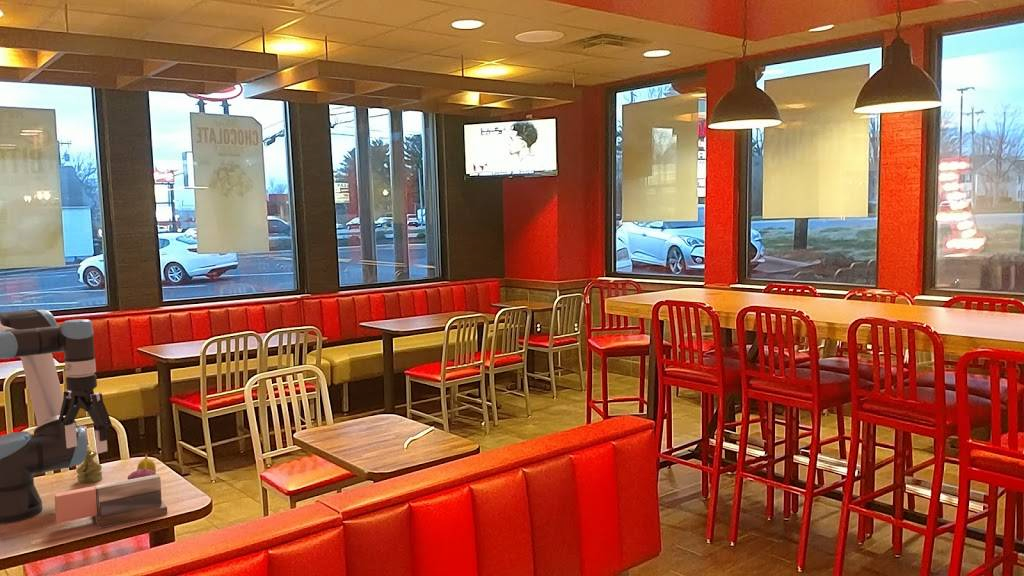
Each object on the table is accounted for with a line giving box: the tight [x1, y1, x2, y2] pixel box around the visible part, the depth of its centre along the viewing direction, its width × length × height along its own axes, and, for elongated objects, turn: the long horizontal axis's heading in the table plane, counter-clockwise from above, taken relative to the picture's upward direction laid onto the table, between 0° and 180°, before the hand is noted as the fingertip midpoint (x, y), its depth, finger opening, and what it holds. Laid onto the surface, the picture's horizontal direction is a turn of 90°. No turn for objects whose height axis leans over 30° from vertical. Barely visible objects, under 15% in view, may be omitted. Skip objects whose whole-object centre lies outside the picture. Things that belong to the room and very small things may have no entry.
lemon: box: [136, 458, 157, 472], centre depth 264 cm, size 6×6×8 cm
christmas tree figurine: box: [76, 449, 103, 485], centre depth 266 cm, size 7×7×10 cm
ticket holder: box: [93, 473, 168, 529], centre depth 237 cm, size 12×18×10 cm, turn 125°
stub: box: [54, 485, 97, 524], centre depth 229 cm, size 3×10×8 cm, turn 125°
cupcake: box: [127, 453, 157, 480], centre depth 255 cm, size 9×8×12 cm
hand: (86, 449), depth 227 cm, fingers open, 13 cm apart
